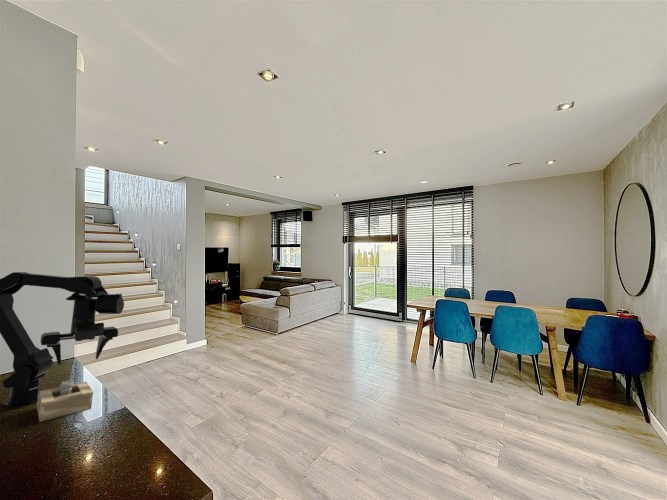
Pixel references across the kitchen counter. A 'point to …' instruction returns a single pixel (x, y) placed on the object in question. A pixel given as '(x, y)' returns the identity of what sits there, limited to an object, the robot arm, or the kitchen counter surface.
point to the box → (64, 401)
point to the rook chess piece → (66, 387)
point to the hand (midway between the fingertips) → (78, 361)
